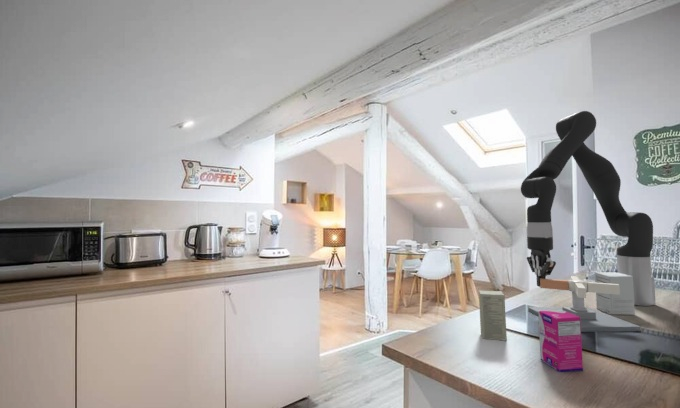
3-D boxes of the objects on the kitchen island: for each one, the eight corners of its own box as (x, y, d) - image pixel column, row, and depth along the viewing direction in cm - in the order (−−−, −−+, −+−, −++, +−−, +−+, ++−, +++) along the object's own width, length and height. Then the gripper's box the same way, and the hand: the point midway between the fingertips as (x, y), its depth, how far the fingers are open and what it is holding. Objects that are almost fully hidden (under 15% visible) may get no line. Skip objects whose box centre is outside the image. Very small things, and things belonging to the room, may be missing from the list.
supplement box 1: (539, 360, 74) (537, 309, 74) (563, 359, 74) (561, 308, 75) (558, 372, 68) (556, 317, 68) (584, 371, 69) (582, 316, 69)
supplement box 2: (618, 308, 112) (616, 272, 113) (635, 315, 105) (633, 276, 105) (595, 308, 113) (594, 271, 114) (611, 314, 106) (609, 275, 106)
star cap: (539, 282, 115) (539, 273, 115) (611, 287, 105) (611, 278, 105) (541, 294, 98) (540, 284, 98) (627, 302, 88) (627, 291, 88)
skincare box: (504, 335, 89) (503, 291, 90) (507, 341, 85) (505, 294, 85) (479, 333, 91) (478, 289, 92) (481, 338, 87) (479, 293, 88)
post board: (586, 310, 111) (585, 284, 111) (640, 330, 91) (639, 299, 91) (528, 310, 111) (527, 285, 111) (569, 331, 91) (568, 300, 91)
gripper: (518, 234, 117) (519, 282, 117) (540, 237, 104) (542, 291, 103) (538, 234, 117) (540, 282, 117) (563, 236, 104) (565, 291, 103)
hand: (541, 286), depth 110 cm, fingers closed
